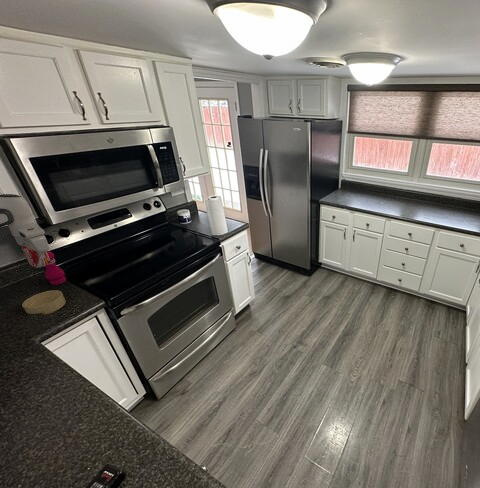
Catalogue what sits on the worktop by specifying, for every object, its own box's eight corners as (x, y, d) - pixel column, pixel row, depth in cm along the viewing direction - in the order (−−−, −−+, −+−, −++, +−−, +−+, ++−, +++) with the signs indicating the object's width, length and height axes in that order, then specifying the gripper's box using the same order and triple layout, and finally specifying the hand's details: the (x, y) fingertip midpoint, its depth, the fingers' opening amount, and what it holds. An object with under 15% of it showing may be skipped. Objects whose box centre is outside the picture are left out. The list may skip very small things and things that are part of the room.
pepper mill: (65, 276, 148) (49, 245, 139) (69, 281, 145) (53, 249, 136) (47, 282, 143) (30, 249, 134) (51, 287, 139) (34, 254, 130)
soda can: (50, 266, 126) (39, 244, 121) (29, 270, 123) (17, 247, 117) (53, 260, 132) (43, 238, 126) (33, 263, 128) (22, 241, 123)
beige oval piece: (36, 321, 117) (31, 311, 114) (21, 312, 121) (16, 302, 119) (72, 304, 128) (68, 294, 125) (57, 296, 132) (52, 287, 130)
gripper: (3, 227, 120) (17, 254, 126) (27, 235, 113) (40, 263, 119) (22, 223, 126) (34, 249, 131) (46, 231, 118) (58, 258, 124)
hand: (37, 256), depth 125 cm, fingers closed on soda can, 7 cm apart
